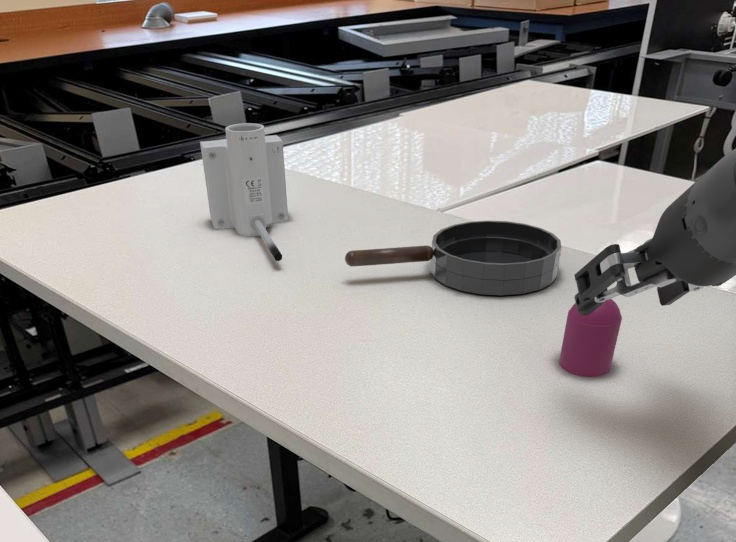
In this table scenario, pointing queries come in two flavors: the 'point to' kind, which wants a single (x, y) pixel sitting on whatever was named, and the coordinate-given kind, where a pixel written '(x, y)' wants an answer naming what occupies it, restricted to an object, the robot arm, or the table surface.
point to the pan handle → (389, 256)
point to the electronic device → (246, 181)
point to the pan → (495, 257)
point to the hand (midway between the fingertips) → (621, 301)
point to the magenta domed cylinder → (590, 340)
